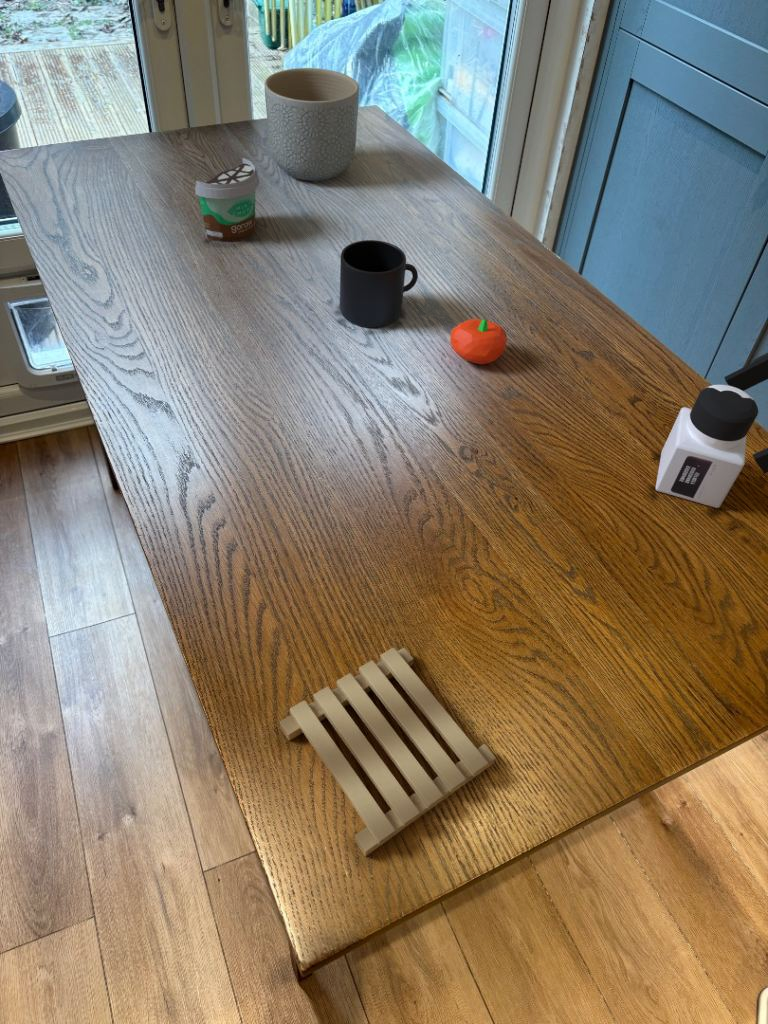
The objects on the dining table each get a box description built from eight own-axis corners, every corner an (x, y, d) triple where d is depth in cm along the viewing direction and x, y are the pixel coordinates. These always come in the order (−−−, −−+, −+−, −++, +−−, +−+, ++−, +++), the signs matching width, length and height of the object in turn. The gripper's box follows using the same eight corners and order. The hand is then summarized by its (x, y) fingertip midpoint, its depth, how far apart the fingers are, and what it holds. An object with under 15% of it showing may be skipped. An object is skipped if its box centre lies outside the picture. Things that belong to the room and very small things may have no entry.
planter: (264, 187, 140) (259, 98, 128) (273, 149, 151) (269, 64, 140) (355, 192, 140) (358, 104, 129) (357, 154, 152) (360, 70, 140)
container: (719, 510, 90) (766, 428, 80) (654, 491, 91) (693, 409, 82) (722, 468, 95) (767, 387, 85) (660, 451, 96) (698, 369, 87)
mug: (426, 320, 113) (433, 265, 106) (351, 333, 110) (353, 277, 103) (403, 287, 119) (408, 234, 112) (331, 298, 116) (332, 244, 109)
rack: (495, 765, 67) (499, 755, 65) (366, 859, 61) (367, 850, 59) (402, 651, 74) (403, 640, 73) (278, 725, 68) (277, 715, 67)
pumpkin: (451, 338, 110) (457, 299, 106) (505, 347, 110) (513, 309, 105) (444, 366, 106) (449, 327, 101) (500, 376, 105) (508, 337, 100)
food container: (229, 253, 123) (223, 193, 116) (201, 241, 125) (193, 181, 118) (276, 225, 130) (274, 167, 123) (249, 214, 132) (244, 156, 125)
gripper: (1026, 429, 68) (786, 521, 80) (917, 283, 85) (731, 377, 96) (1006, 376, 64) (757, 481, 76) (896, 235, 81) (706, 338, 92)
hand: (742, 423), depth 86 cm, fingers open, 13 cm apart
